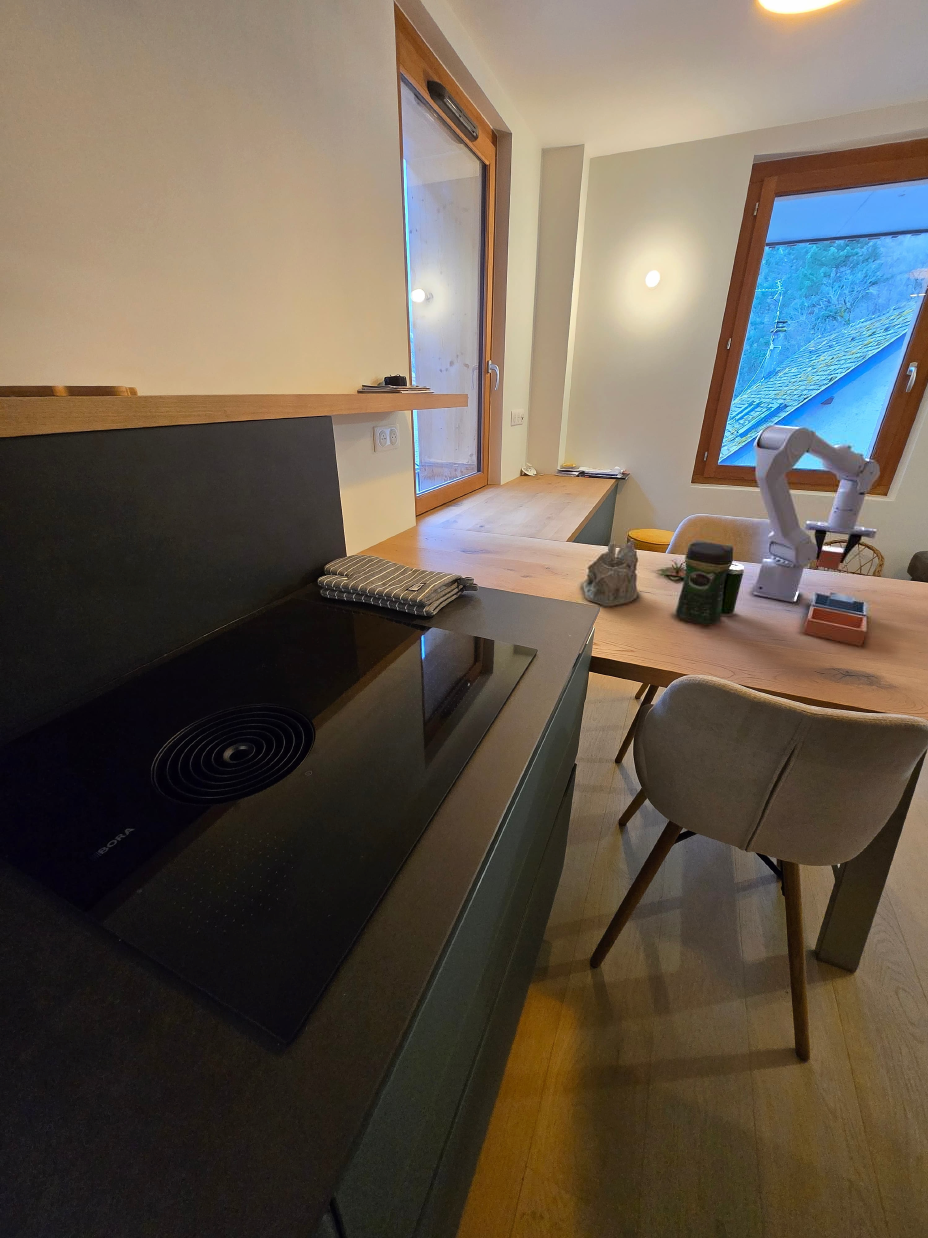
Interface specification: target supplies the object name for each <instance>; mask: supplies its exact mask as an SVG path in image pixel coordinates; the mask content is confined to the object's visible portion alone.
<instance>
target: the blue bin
mask: <svg viewBox="0 0 928 1238" xmlns="http://www.w3.org/2000/svg"><path fill="white" fill-rule="evenodd" d="M829 596H830V594H826V593H825V594H824V593H819V592H814V593H813V597H812V600H811V603H810V606H809V610H808V612H809V611H810V608H811V606H812V607H818V608H823V609H828V610H833V611H838V612H843V613H848V614H853V615H859V616H863V617H867V615H868V602H867V601H864V600H863V601H862V600H857V599H853V605H852V608H851V611H849V610H844V609H838V608H833V607H828V606H826V605H827V602H828V599H829ZM808 615H809V613H808V614H807V616H808Z"/></svg>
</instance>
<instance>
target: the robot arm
mask: <svg viewBox="0 0 928 1238" xmlns="http://www.w3.org/2000/svg"><path fill="white" fill-rule="evenodd" d="M752 446H753V450H754V452H755V455H756V461H755V474H754V475H755V479H756V482H757V485H758V488H759V491H760V495H761V498H762V501H763V504H764V508H765V510H766V513H767V516H768V519H769V522H770V523H769V524H770V526H771V528H772V531H771V532H770V533H769V534H768V535H767V541H768V542H767V543H768V544H767V553H768V554H769V555H770V557H769V559H765V558H764V559H763V560H762V562H761V565H760V569H759V571H758V576H757V578H756V581H755V584H754V586H755V588H754V591H753V595H754V596H759V597H763V598H769V599H774V600H778V601H779V600H780V601H784V602H789V603H796V602H797V599H798V596H799V594H800V592H799V590H798V589H799V586H800V583H801V579H802V577H803V576H802V575H803V572H804V570H805V568H806V567H808V565H810V564H811V563H813V562H814V560H816V561H818V560H819V558H820V555H821V551H822V547H823V546H824V543H825V540H826V537H827V533H830V534H831V533H833V534H839V535H847V536H848V537H847V540H846V543H845V545H844V548H843V549H844V551H843V555H842V558H841V561H840V564H844V561H845V560H846V558H847V557H848V555H849V554H850V552H851V551H852V550H853V549H854V548H855V547H857V545H859V543H860V542H861V541H862V538H868V539H875V537H876V534H877V529H876V528H869V527H864V526H860V525H859V526H858V525H856V524H857V522H858V518H859V515H860V512H861V510H862V508H863V504H864V501H865V498H866V495H867V492H869V491H870V490H871V488H872V486H873V485H874V482H875V481H876V480H878V478H879V476H880V474H881V471H880V465H879V464H878V462H877V461H876V460H874V459H868V458H865V457H864V454H863V453H860V452H855V451H854V450H852V448H853V447H852V445H849V444H837V445H835V446H834V445H832V444H831V443H829V442H828V441H827V440H826V439H823V438H822V437H821V436H820V435H818V434H817V433H816V430H815V431H814V430H811V429H809V428H807V427H804V426H801V427H800V426H799V427H797V426H796V427H795V426H784V425H777V424H769V425H765V427H763V428H762V429H761V431H760V432H759V434H758V435H757V437H756V439H755V441H754V443H753V445H752ZM805 454H809V455H811V456H813V457H815V458H818V459H819V460H821V462H820V463H821V467H822V468H823V469H825V470H827V471H829V472H831V473H832V474H835V475H836V478H837V481H840V482H839V486H838V488H837V492H836V495H835V498H834V501H833V503H832V507H831V511H830V514H829V517H828V520H827V522H824V521H809V520H808V521H806V523H805V527H804V529H803V528H801V526H800V522H799V520H798V515H797V511H796V508H795V505H794V501H793V498H792V494H791V491H790V487H789V483H788V480H787V477H786V476H787V475H786V473H788V472H791V471H792V470H793V468H794V467H795V466H796V465H797V464H798V462H799V461H800V460H801V459H802V458H803V456H804V455H805ZM806 531H813V532H814V539H815V542H814V541H813V540H812V538H811V536H810V535H809V534H808V533H807V532H806Z"/></svg>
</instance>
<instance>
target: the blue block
mask: <svg viewBox="0 0 928 1238" xmlns="http://www.w3.org/2000/svg"><path fill="white" fill-rule="evenodd" d="M829 595H830V596H829V599H828V602H827V605H826V606H828V607H833V608H838V609H844V610H849V611H851V608H852V605H853V600H855V599H854V598H855V597H854V596H853V595H847V594H842V593H836V592H832V591H831V592H830V593H829Z"/></svg>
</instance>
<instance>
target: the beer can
mask: <svg viewBox="0 0 928 1238" xmlns="http://www.w3.org/2000/svg"><path fill="white" fill-rule="evenodd" d="M743 576H744V566H743V565H742V564H739V563H736V562H732V565H731V567H730V568H729V570H728V571H727V574H726V578H725V582H724V590H723V600H722V610H721V616H720V617H730V616H732V615H733V614H734V612H735V609H736V605H737V601H738V597H739V593H740V588H741V585H742V580H743Z"/></svg>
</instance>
